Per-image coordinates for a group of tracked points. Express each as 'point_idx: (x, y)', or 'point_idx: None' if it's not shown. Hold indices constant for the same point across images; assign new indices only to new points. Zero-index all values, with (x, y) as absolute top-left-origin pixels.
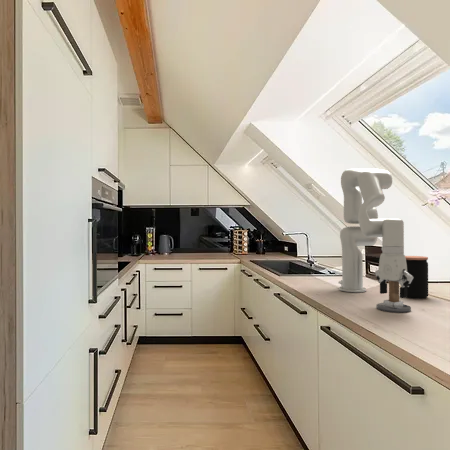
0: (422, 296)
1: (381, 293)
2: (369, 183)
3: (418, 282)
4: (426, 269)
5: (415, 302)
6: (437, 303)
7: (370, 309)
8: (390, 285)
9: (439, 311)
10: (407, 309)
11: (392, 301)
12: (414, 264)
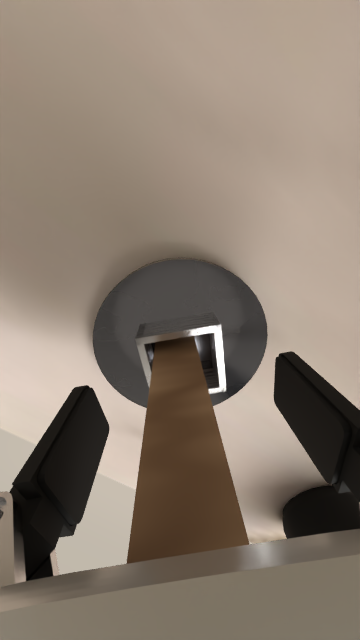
0: (285, 519)
1: (280, 356)
2: None
3: None
4: None
5: (253, 472)
6: None
7: (212, 209)
8: (197, 459)
9: (107, 463)
10: (101, 368)
11: (168, 351)
12: None
